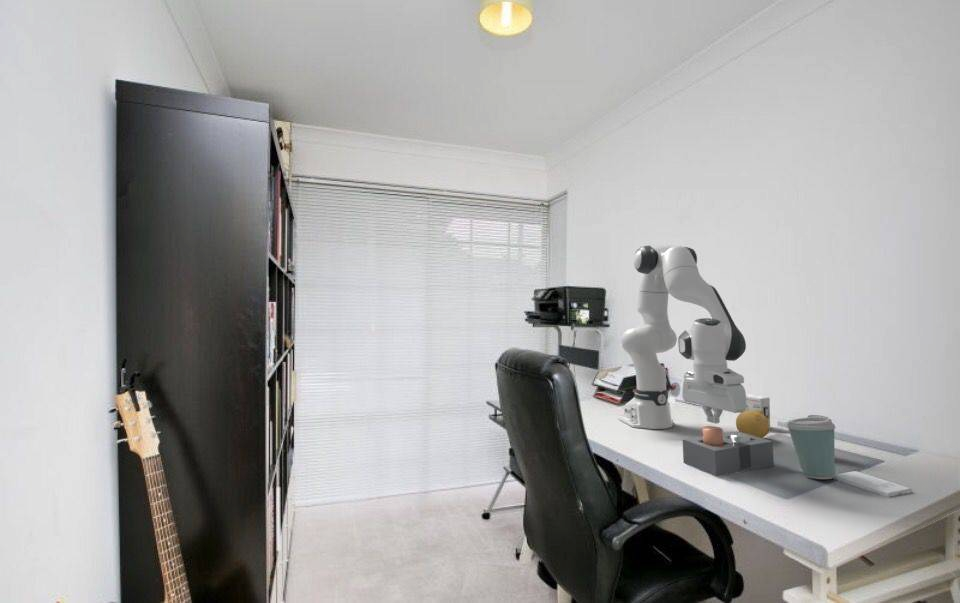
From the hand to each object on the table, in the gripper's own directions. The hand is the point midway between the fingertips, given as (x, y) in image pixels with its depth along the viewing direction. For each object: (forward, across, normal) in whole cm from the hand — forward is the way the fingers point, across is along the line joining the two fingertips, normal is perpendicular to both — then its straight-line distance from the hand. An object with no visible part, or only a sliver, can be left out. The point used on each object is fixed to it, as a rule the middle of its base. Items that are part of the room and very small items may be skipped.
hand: (713, 422), depth 130 cm
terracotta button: (+9, 0, 0) cm, 9 cm away
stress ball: (+13, -15, +32) cm, 38 cm away
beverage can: (+13, +6, +34) cm, 37 cm away
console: (+13, 0, +5) cm, 14 cm away
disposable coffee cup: (+13, +16, +18) cm, 27 cm away
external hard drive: (+14, +25, +24) cm, 37 cm away
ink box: (+13, -26, +46) cm, 54 cm away
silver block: (+12, 0, +10) cm, 15 cm away
